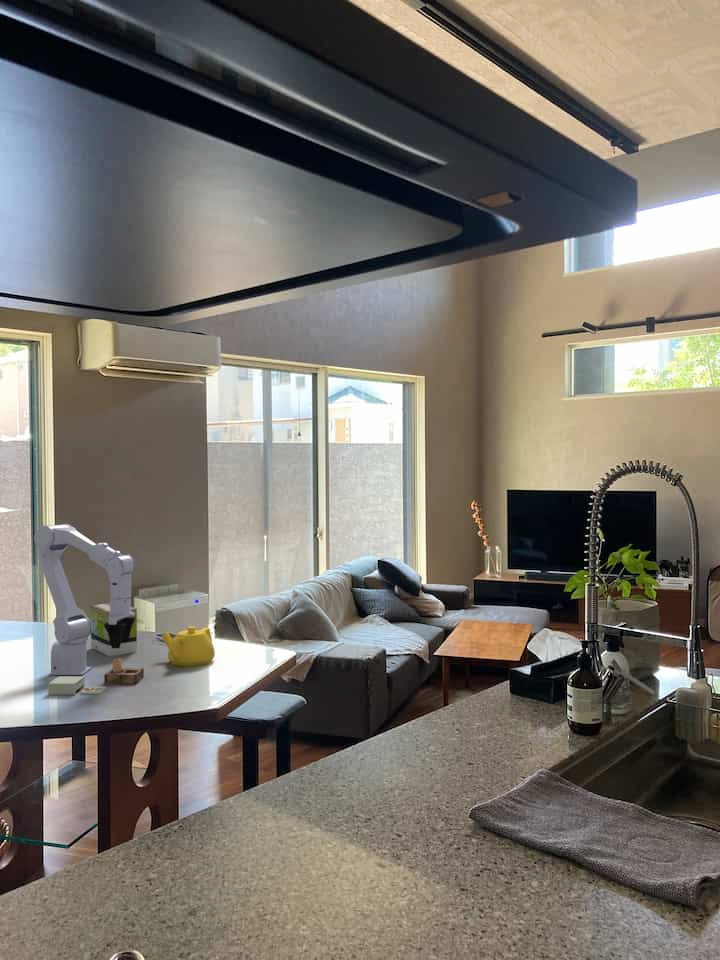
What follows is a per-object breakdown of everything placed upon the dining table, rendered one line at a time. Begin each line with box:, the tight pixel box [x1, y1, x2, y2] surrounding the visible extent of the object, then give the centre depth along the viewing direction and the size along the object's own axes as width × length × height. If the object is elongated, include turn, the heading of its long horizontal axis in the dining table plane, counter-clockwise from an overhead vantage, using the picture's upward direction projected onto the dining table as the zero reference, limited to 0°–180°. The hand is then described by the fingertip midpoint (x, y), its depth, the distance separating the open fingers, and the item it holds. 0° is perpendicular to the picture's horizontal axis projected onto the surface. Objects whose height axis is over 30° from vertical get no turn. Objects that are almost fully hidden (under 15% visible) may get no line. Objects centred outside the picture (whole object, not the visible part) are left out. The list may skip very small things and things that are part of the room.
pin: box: [112, 657, 123, 673], centre depth 214 cm, size 2×2×6 cm
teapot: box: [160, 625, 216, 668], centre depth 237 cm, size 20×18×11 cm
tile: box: [80, 686, 107, 695], centre depth 203 cm, size 5×5×1 cm
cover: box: [48, 675, 86, 696], centre depth 203 cm, size 7×7×3 cm
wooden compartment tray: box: [104, 667, 145, 685], centre depth 214 cm, size 9×7×2 cm
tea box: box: [90, 602, 138, 657], centre depth 250 cm, size 15×10×15 cm
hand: (120, 645), depth 217 cm, fingers open, 7 cm apart
